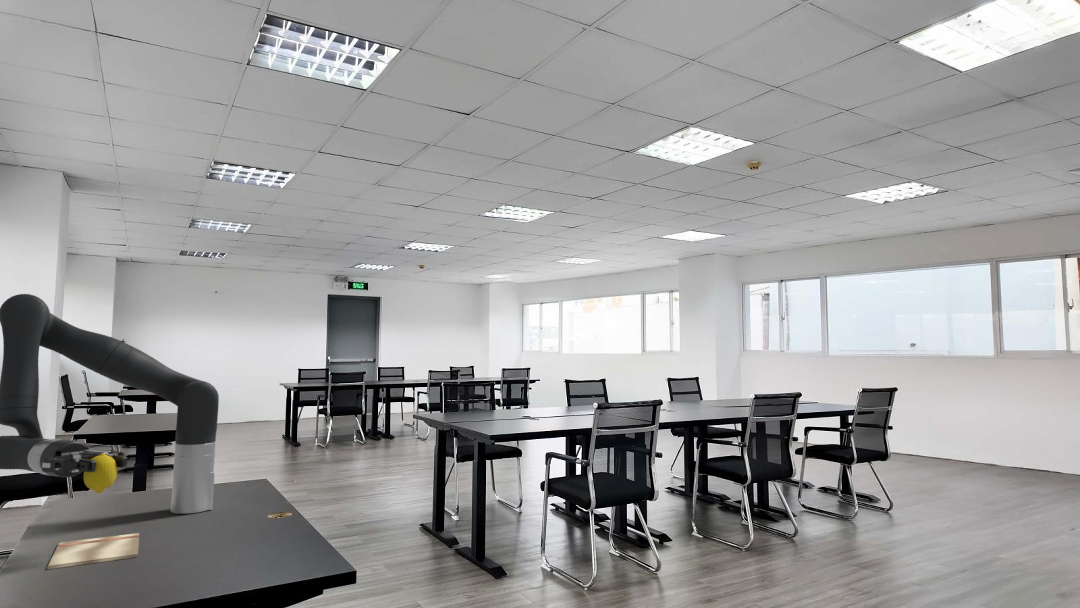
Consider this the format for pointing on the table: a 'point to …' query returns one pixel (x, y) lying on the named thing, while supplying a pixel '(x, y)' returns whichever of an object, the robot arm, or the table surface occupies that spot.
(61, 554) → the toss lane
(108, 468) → the lemon
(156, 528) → the table surface
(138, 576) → the table surface
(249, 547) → the table surface
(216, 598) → the table surface
